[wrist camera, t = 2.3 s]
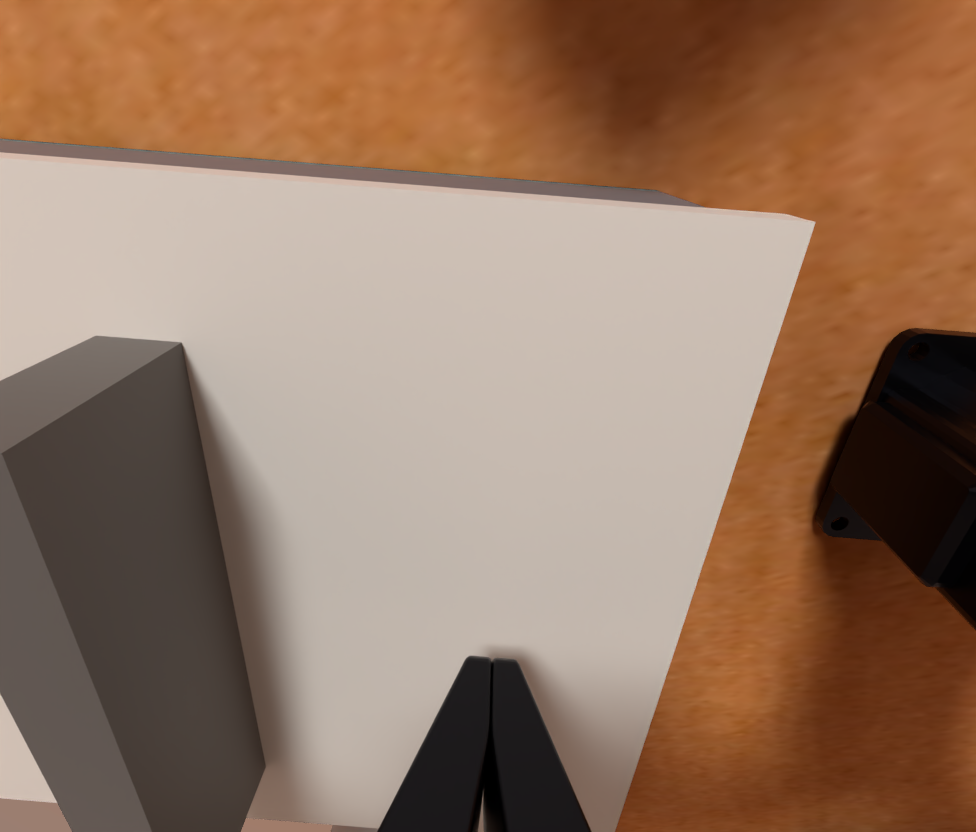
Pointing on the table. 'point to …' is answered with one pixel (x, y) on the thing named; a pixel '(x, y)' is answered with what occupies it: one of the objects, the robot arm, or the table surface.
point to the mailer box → (341, 172)
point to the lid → (350, 475)
